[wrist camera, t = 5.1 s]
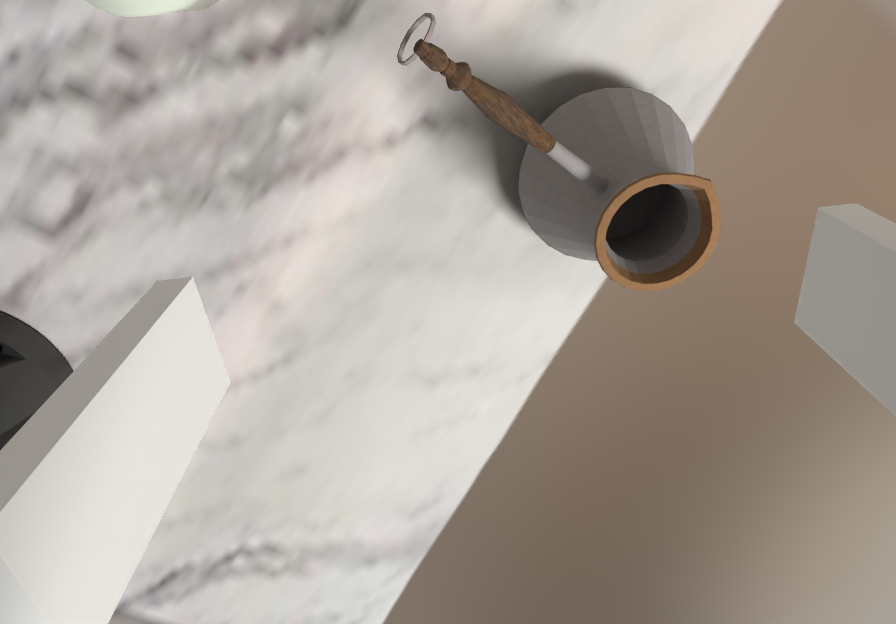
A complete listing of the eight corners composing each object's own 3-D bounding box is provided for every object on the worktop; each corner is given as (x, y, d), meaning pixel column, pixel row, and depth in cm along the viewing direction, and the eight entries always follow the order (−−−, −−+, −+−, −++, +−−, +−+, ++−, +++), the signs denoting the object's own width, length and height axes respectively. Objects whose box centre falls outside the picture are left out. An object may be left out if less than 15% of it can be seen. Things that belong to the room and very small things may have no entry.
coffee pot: (711, 151, 41) (847, 228, 27) (595, 271, 45) (666, 389, 32) (471, -72, 34) (500, -109, 21) (362, 95, 38) (328, 152, 25)
